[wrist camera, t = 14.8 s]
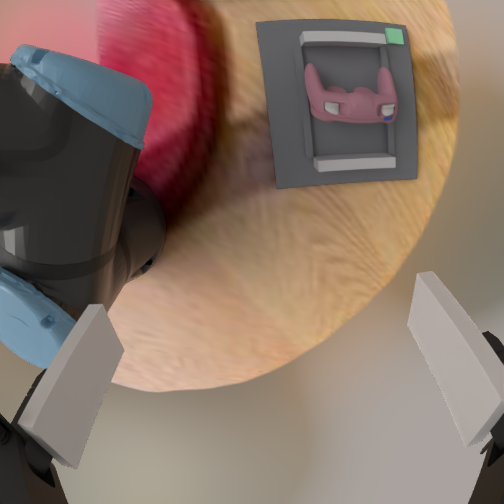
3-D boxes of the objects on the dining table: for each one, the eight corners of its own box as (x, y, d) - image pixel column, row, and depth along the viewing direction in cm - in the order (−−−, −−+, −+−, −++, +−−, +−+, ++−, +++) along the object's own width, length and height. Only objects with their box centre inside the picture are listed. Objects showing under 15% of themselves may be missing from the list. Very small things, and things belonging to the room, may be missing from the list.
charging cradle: (276, 186, 37) (278, 196, 33) (255, 25, 28) (255, 15, 24) (412, 177, 35) (427, 185, 31) (401, 27, 26) (416, 20, 23)
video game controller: (300, 92, 31) (312, 133, 28) (301, 59, 27) (315, 96, 24) (381, 94, 30) (402, 133, 27) (388, 63, 26) (414, 100, 23)
